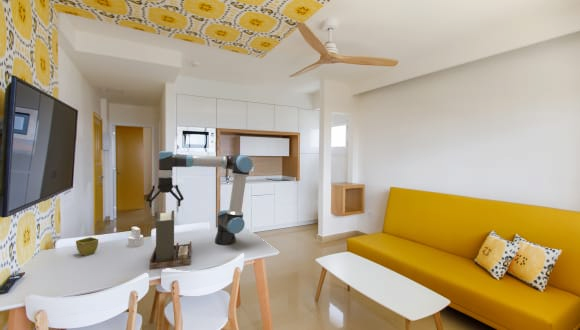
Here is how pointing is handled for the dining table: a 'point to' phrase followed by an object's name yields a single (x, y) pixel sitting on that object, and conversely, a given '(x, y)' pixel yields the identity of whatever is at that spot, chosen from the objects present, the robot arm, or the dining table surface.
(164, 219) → the book
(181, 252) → the offcut top
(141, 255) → the dining table surface
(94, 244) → the flower pot
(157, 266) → the rack
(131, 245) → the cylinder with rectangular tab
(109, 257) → the dining table surface
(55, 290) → the dining table surface
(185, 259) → the block
